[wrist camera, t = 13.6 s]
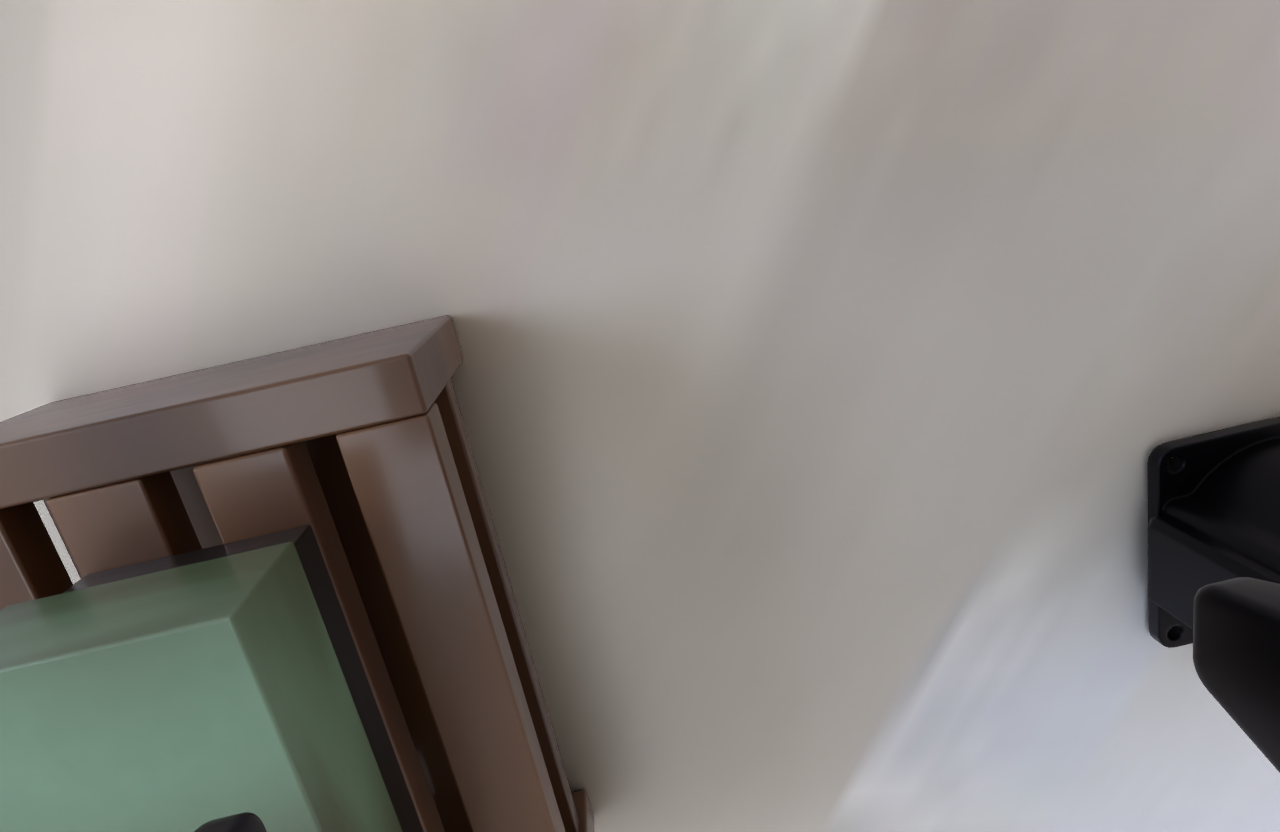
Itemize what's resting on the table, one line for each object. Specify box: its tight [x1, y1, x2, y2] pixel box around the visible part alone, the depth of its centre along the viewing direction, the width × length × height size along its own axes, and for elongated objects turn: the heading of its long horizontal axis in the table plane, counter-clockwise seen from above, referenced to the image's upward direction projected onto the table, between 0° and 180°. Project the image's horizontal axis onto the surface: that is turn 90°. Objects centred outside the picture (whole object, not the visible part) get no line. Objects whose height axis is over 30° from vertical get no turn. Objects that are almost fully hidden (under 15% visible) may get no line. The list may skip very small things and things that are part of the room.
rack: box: [0, 315, 594, 832], centre depth 18 cm, size 10×16×5 cm, turn 12°
